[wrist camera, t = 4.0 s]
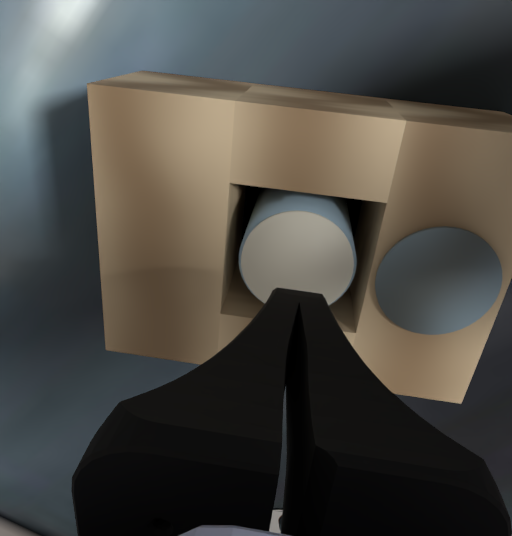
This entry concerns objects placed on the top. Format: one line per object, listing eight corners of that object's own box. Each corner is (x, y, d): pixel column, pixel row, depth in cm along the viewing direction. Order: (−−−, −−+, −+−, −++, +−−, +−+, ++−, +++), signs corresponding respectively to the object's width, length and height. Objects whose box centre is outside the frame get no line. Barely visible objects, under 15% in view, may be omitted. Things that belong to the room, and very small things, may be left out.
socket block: (503, 111, 18) (570, 140, 13) (432, 329, 22) (462, 407, 18) (142, 70, 18) (83, 84, 14) (146, 288, 23) (103, 353, 18)
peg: (355, 173, 19) (368, 217, 15) (338, 259, 21) (344, 322, 16) (260, 161, 19) (242, 201, 15) (251, 247, 21) (233, 306, 17)
